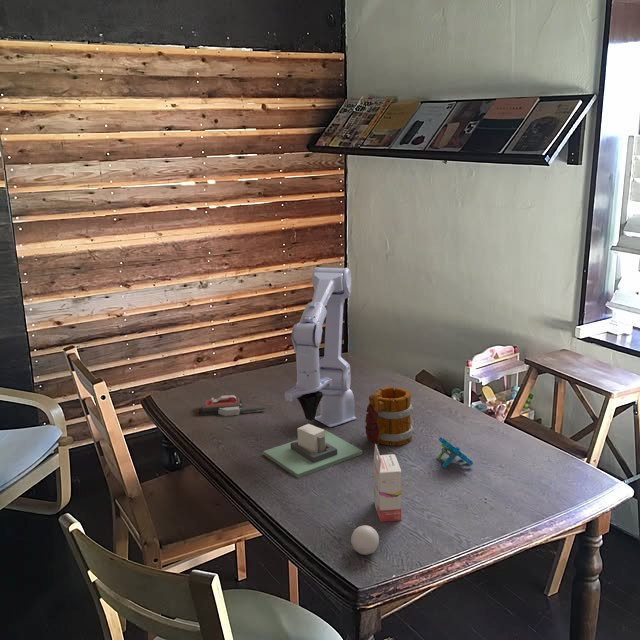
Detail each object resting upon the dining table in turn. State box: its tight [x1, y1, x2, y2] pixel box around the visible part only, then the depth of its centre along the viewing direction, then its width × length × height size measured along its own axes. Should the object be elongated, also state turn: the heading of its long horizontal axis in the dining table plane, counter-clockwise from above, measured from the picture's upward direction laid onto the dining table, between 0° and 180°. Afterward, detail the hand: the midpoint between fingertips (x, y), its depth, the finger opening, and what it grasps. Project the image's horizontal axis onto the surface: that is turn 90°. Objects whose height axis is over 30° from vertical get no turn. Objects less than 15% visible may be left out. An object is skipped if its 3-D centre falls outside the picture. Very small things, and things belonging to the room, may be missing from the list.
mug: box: [364, 386, 415, 447], centre depth 190 cm, size 11×16×15 cm, turn 137°
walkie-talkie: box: [197, 394, 267, 417], centre depth 216 cm, size 9×4×20 cm
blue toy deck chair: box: [436, 436, 474, 469], centre depth 177 cm, size 11×6×10 cm
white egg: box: [350, 524, 381, 556], centre depth 144 cm, size 8×6×6 cm
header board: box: [262, 429, 363, 479], centre depth 186 cm, size 20×16×2 cm
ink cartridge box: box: [373, 444, 402, 523], centre depth 156 cm, size 9×5×15 cm, turn 5°
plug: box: [296, 423, 326, 454], centre depth 185 cm, size 4×9×6 cm, turn 45°
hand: (310, 419), depth 185 cm, fingers closed
